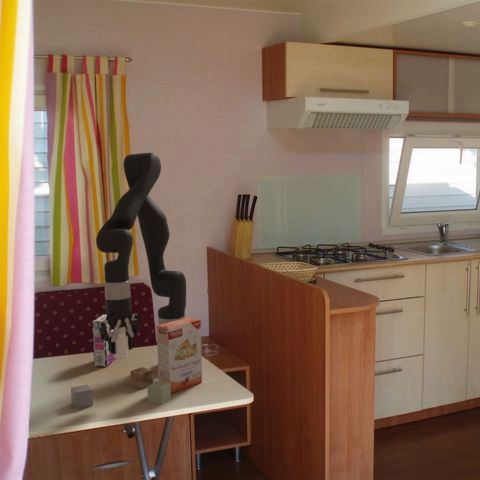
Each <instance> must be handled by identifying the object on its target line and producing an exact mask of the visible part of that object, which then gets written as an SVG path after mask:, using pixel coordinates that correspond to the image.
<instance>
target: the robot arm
mask: <svg viewBox="0 0 480 480" xmlns="http://www.w3.org/2000/svg"><path fill="white" fill-rule="evenodd" d="M123 170H124V171H123V172H124V176H125V180H126V182H127V185H128V188H129V189H128V190H127V191H126V192H125V193H124V194H123V195H122V196H121V197H120V198H119V199H118V201H117V203H116V204H115V207H114V210H113V213H112V214H111V216H110V218H108V219H107V221H106V222H105V223H104V224H103V225H102V227H101V228H100V229H99V231H98V232H97V235H96V239H95V244H96V247H97V249H98V251H100V252H102V253H104V254H105V253H107V254H108V253H109V254H110V253H111V254H112V253H113V254H114V253H115V254H117V257H116V259H111V260H109V261H107V262H105V263H104V268H103V269H104V297H105V298H104V301H105V313H106V315H107V317H106V320H104V321H102V322H100V321H99V322H98V323H97V324H98V328H99V332H100V335H101V339H102V340H105V341H108V350H109V352H110V353H111V354H116V345H115V342H114V341H115V337H116V335H117V333H118V329H119V328H121V327H125V331H126V333H125V335H126V336H128V346H129V350H133V347H134V336H135V335H137V334H139V331H140V324H141V314H138V313H132V294H131V284H130V274H129V273H130V272H129V266H130V265H129V264H130V258H131V253H132V250H133V244H134V237H133V235H132V233H131V231H130V230H131V229H133V227H134V225H135V222H136V219H138V223H139V228H140V233H141V234H140V235H141V236H142V237H141V238H142V241H143V245H144V248H145V252H146V258H147V264H148V269H149V270H148V271H149V278H150V284H151V288H152V291H153V293H154V294H155V296H157V297H161V298H169V299H168V304H167V305H164V306H161V307H159V308H158V309H157V318H158V321H157V322H158V325H161V324H164V323H168V322H172V321H177V320H180V319H184V318H186V317H185V314H186V313H185V312H186V311H185V310H186V308H187V280H186V277H185V274H184V273H183V272H182V271H178V270H167V269H166V267H165V261H164V254H165V250H166V248H167V245H168V243H169V240H170V230H169V229H170V228H169V225H168V219H167V216H166V215H165V212H164V211H163V210H162V209H161V207H160V206H159V205H158V204H157V203H156V201H154V199H152V197H151V196H150V195H149V194H150V192H151V191H152V189H153V187H154V186H155V184H156V183H157V181H158V180H159V178H160V175H161V171H162V162H161V159H160V157H159V156H158V155H157V154H156V153H155V152H142V153H131V154H128V155H126V156H125V157H124V159H123ZM130 322H131V323H130ZM107 323H108V324H109V329H108V332H107V328H106V327H107ZM113 329H114V331H113Z"/></svg>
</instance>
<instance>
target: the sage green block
mask: <svg viewBox="0 0 480 480" xmlns="http://www.w3.org/2000/svg"><path fill="white" fill-rule="evenodd" d="M146 389H147V402H148V403H152V404H157V405H159V404H160V405H164V404H165V403H167V402H169V400H171V398H172V395H171V394H172V393H171V388H170V383H169V382H161V381H158V380H154V381H153V383H152V384H150V385H149V386H147V387H146Z"/></svg>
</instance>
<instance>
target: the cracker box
mask: <svg viewBox="0 0 480 480" xmlns="http://www.w3.org/2000/svg"><path fill="white" fill-rule="evenodd" d="M156 339H157V340H156V341H157V346H156V347H157V376H158V378H157V379H158V380H157V381H161V382H169V383H170V388H171V394H173V393H176V392H178V391H181V390H184V389H186V388H190V387H192V386H195V385H198V384H201V383H202V382H203V377H202V376H203V374H202V373H203V371H202V370H203V367H202V366H203V364H202V363H203V362H202V322H201V319H198V318H194V317H189V316H188V317H185V318H184V319H180V320H177V321H172V322H168V323H164V324H161V325H159V324H157V325H156Z"/></svg>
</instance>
